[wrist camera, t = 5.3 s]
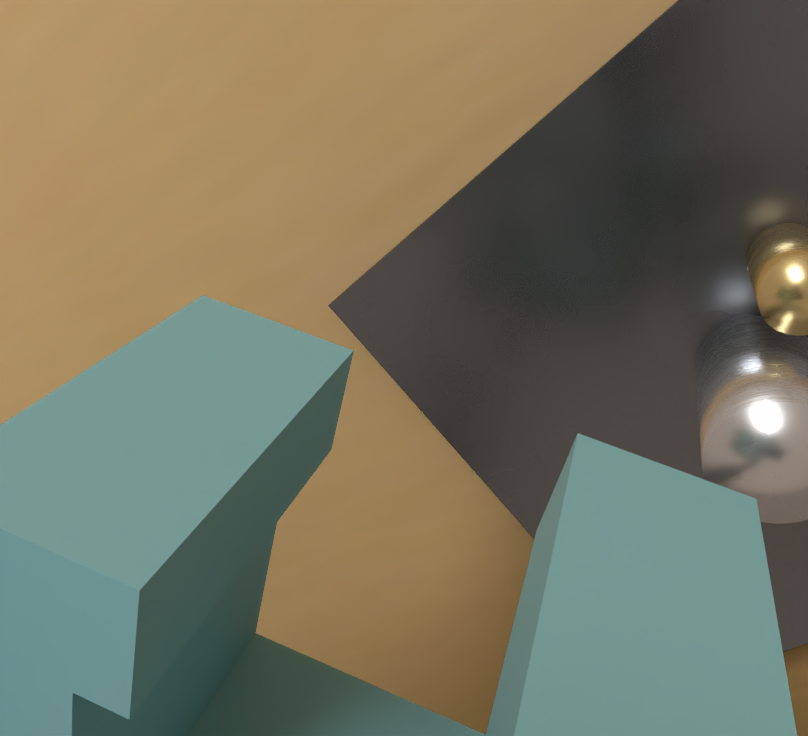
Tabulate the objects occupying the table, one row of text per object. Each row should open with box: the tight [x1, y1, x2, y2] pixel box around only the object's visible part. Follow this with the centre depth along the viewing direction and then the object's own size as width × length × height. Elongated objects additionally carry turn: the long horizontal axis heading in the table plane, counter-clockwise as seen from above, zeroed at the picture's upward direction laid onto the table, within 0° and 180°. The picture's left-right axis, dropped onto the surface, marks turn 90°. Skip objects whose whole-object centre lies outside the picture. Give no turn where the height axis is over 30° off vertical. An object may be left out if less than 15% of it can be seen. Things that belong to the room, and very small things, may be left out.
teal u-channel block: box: [0, 295, 797, 736], centre depth 8 cm, size 6×6×4 cm
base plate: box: [328, 0, 808, 652], centre depth 15 cm, size 14×14×5 cm
